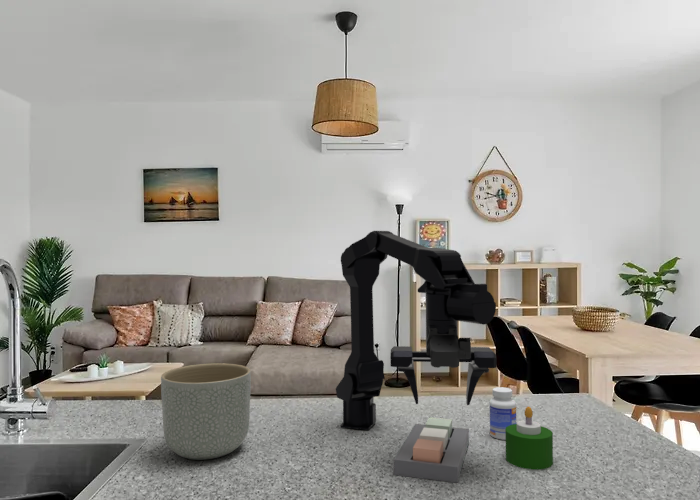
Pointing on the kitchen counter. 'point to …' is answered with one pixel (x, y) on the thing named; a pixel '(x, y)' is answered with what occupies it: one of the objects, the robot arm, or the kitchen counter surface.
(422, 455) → the key terracotta
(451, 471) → the keypad
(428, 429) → the key white
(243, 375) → the planter
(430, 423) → the key sage
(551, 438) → the candle
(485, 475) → the kitchen counter surface
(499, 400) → the pill bottle
